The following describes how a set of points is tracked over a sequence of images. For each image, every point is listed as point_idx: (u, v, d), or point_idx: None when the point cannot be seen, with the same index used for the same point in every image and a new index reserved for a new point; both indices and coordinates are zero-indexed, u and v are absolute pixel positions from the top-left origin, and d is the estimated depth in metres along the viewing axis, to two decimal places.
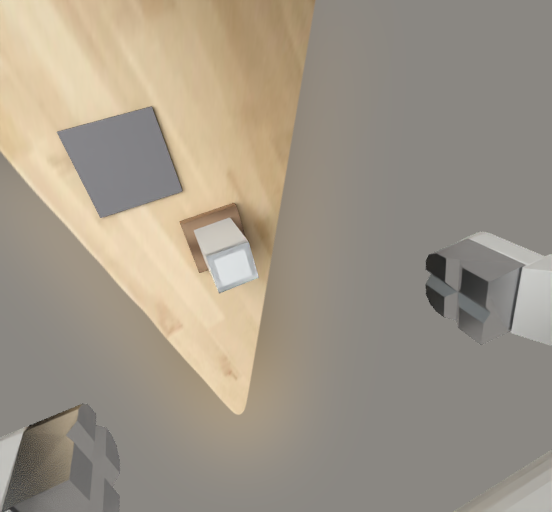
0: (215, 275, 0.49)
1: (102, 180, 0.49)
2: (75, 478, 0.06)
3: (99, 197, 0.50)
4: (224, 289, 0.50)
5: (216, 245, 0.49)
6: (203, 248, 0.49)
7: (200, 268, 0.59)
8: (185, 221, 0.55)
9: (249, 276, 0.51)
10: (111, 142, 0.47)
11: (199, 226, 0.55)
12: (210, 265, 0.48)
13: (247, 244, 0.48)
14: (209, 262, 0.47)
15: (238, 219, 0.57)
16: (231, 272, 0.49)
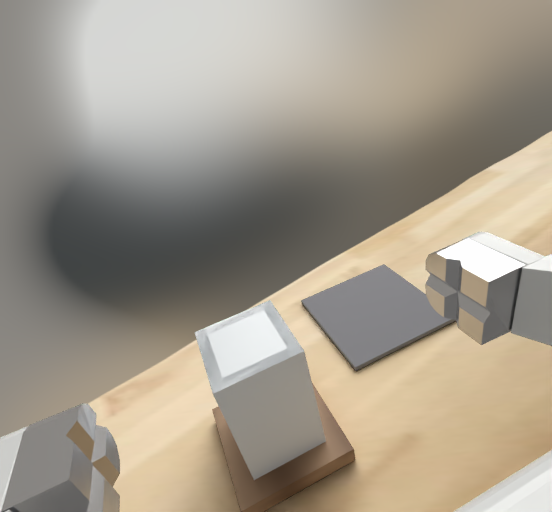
0: (232, 318, 0.26)
1: (345, 295, 0.43)
2: (75, 478, 0.06)
3: (324, 296, 0.43)
4: (201, 337, 0.25)
5: None
6: None
7: None
8: None
9: (220, 373, 0.22)
10: (392, 294, 0.41)
11: None
12: (254, 308, 0.27)
13: (297, 350, 0.22)
14: (260, 306, 0.27)
15: (324, 460, 0.26)
16: (236, 340, 0.24)
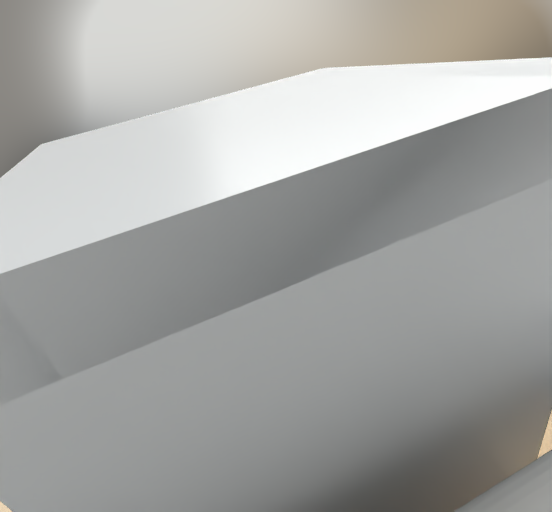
0: (191, 105, 0.07)
1: None
2: None
3: None
4: (54, 145, 0.06)
5: None
6: None
7: None
8: None
9: (29, 208, 0.03)
10: None
11: None
12: (270, 83, 0.08)
13: None
14: (291, 77, 0.08)
15: None
16: (190, 123, 0.05)
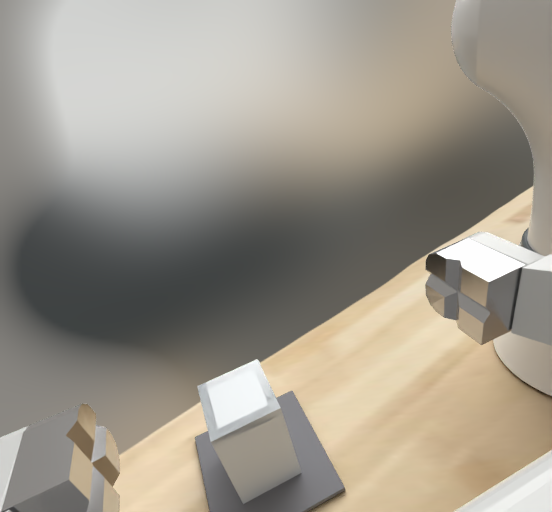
0: (227, 375, 0.33)
1: None
2: (75, 478, 0.06)
3: None
4: (202, 391, 0.32)
5: None
6: None
7: None
8: None
9: (216, 424, 0.29)
10: None
11: None
12: (244, 366, 0.34)
13: (275, 407, 0.29)
14: (249, 364, 0.34)
15: None
16: (229, 395, 0.31)
